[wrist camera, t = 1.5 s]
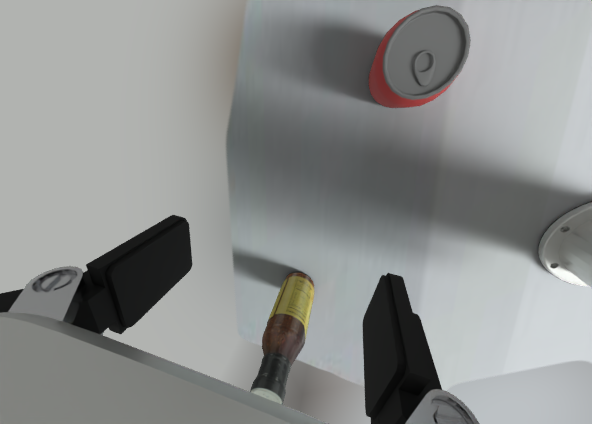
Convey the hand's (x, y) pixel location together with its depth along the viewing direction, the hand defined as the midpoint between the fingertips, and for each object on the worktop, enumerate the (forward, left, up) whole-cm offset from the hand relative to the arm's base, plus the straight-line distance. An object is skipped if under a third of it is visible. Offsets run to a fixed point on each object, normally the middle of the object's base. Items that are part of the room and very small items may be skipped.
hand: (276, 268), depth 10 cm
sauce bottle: (-4, +24, -25) cm, 35 cm away
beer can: (-4, -12, -25) cm, 28 cm away
